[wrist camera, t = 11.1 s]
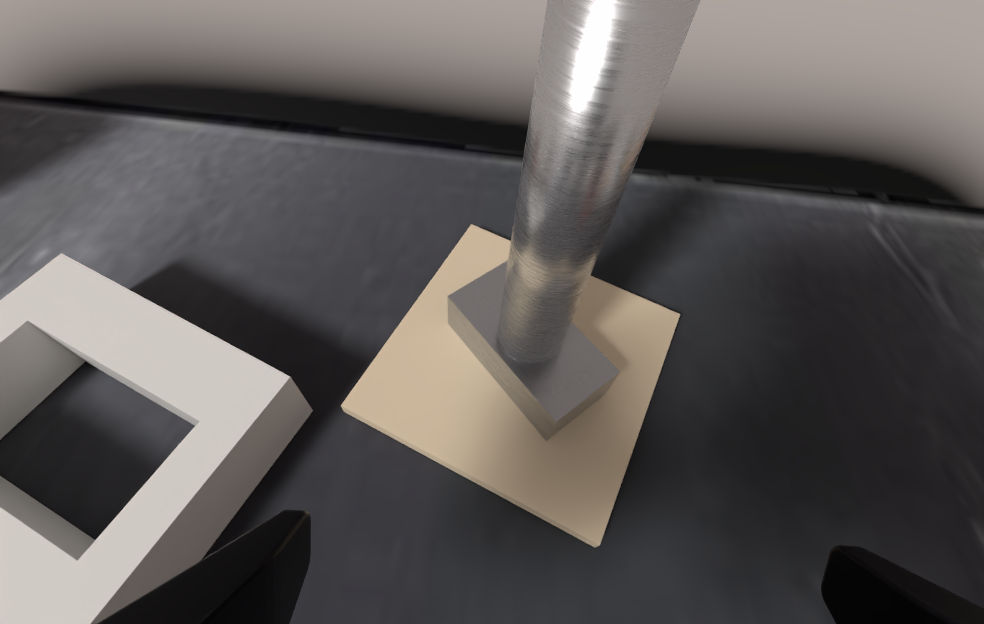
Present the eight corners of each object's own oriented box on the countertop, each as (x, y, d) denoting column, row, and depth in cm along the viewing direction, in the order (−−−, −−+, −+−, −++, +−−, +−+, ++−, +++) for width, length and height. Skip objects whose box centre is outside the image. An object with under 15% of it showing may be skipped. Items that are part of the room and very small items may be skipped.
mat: (675, 321, 21) (680, 314, 21) (595, 547, 16) (599, 545, 16) (471, 232, 23) (471, 224, 23) (343, 411, 18) (340, 405, 18)
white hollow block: (313, 410, 18) (290, 376, 16) (109, 683, 14) (30, 697, 11) (110, 299, 20) (61, 253, 18) (-128, 507, 16) (-240, 485, 13)
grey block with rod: (605, 394, 19) (868, 2, 7) (546, 440, 18) (739, 70, 6) (505, 287, 21) (574, -144, 9) (447, 323, 20) (440, -115, 8)
